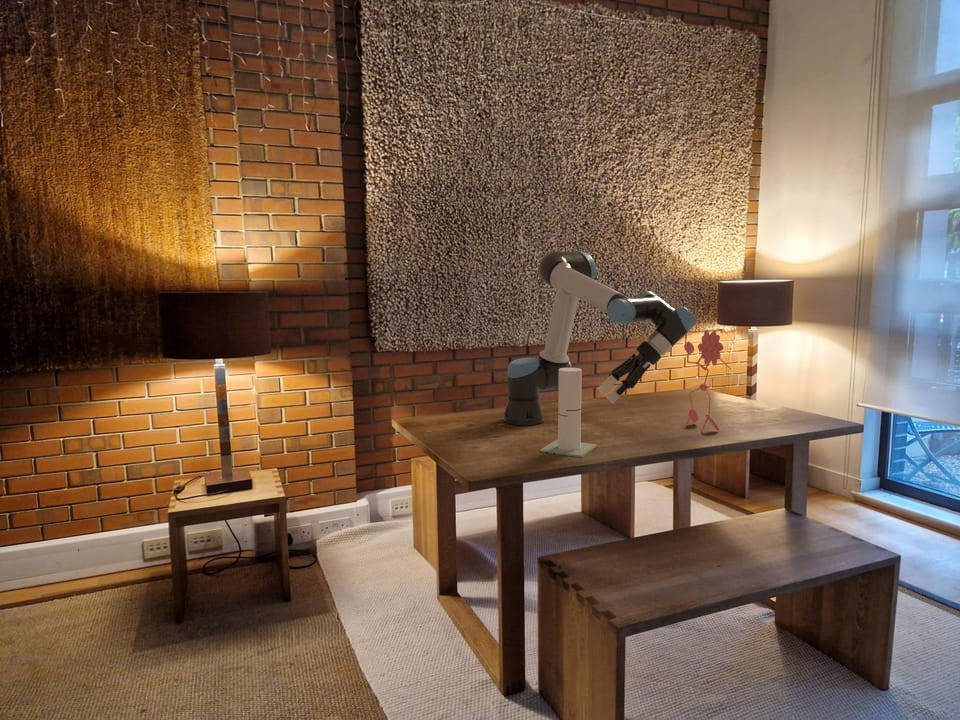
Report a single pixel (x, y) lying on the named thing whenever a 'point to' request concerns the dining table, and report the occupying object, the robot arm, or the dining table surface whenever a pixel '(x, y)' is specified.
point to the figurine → (709, 353)
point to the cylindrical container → (569, 408)
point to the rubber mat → (577, 453)
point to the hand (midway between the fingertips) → (604, 396)
